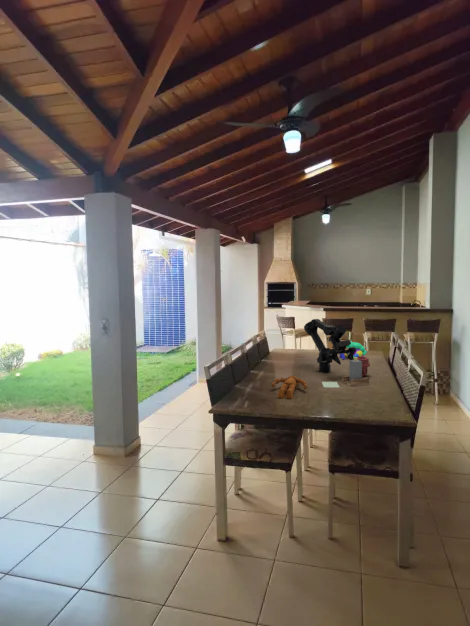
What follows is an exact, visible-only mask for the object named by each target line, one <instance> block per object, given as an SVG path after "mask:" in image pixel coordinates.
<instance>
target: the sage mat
mask: <svg viewBox="0 0 470 626" xmlns="http://www.w3.org/2000/svg"><path fill="white" fill-rule="evenodd" d="M321 383H322V387H323V388H340V385H339V384H338V381H321Z"/></svg>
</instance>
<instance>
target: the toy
mask: <svg viewBox="0 0 470 626" xmlns="http://www.w3.org/2000/svg"><path fill="white" fill-rule="evenodd" d="M279 383H282V384H281V387H280V388H279V389H278V392H277V398H278V399H279V398H280V399H285V398H286V399H290V400H293V399H294V392H295V390H296V387H297V385H298V384H301V386H303V390H307V389H308V385H307V382H306V381H305V380H304V379H302V378H298V377H297V376H295V375H290V376H288V377H286V378H284V377H280V378H275V380H274V381H273V382H271V387H272V388H276V387H275V385H279Z"/></svg>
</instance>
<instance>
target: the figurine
mask: <svg viewBox="0 0 470 626" xmlns="http://www.w3.org/2000/svg"><path fill="white" fill-rule="evenodd" d="M349 347H355V348H356V352H355V353H354V354H353V358H354V357H359V356H364V357H365V356H366V354H368V351H367V350H366V348H365V346H363V345H362V344H361V343H360V342H356V341H354V342H353V341H351V344H350V345H349V346H347V348H346V349H348V348H349ZM338 355H339V356H338V358H339V359H340V358H341V360H342V359H344V360H345V359H346V358H345V357H347V356H348V355H347V354H346V353H344V354H338Z"/></svg>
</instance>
